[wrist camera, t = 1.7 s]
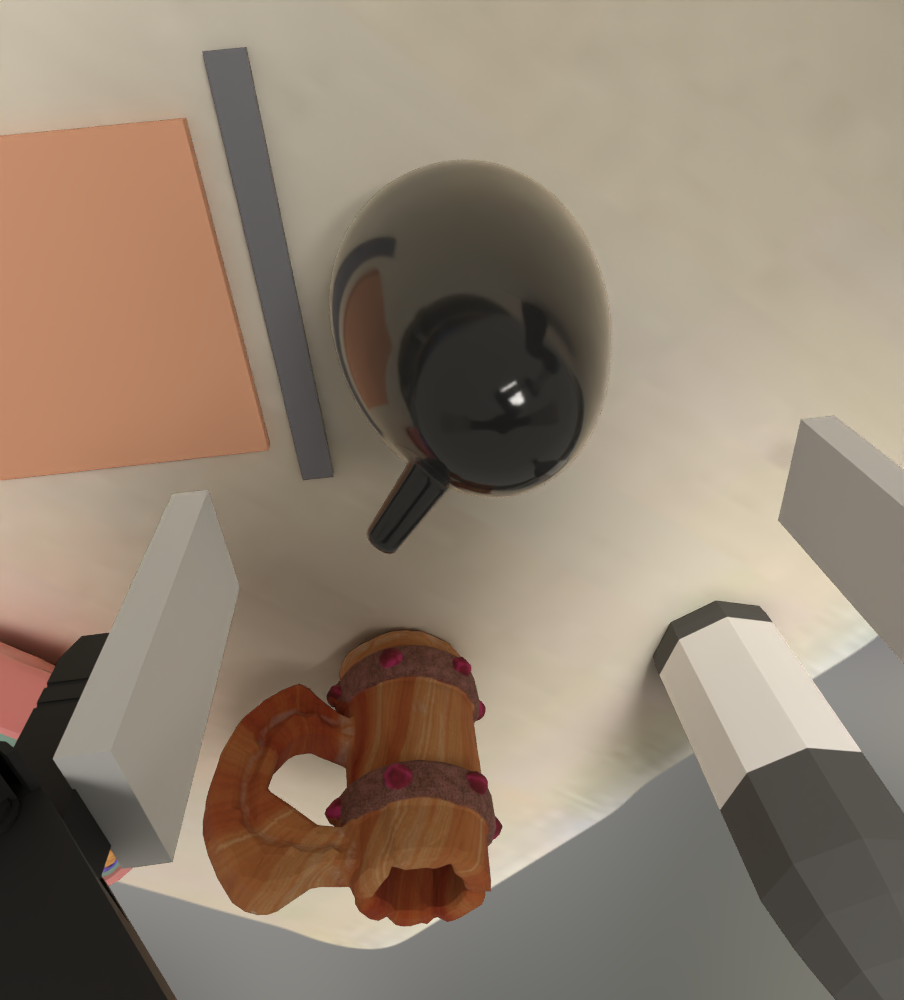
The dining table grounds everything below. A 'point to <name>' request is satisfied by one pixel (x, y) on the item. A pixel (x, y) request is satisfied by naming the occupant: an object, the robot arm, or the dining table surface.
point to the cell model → (11, 699)
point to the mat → (115, 306)
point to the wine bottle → (793, 796)
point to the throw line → (268, 251)
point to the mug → (363, 790)
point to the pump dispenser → (470, 335)
